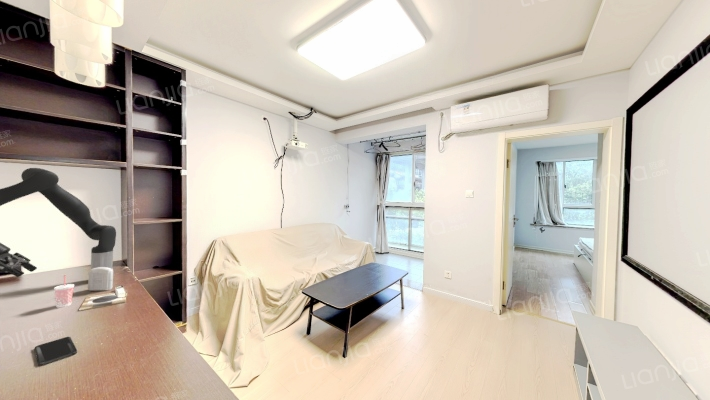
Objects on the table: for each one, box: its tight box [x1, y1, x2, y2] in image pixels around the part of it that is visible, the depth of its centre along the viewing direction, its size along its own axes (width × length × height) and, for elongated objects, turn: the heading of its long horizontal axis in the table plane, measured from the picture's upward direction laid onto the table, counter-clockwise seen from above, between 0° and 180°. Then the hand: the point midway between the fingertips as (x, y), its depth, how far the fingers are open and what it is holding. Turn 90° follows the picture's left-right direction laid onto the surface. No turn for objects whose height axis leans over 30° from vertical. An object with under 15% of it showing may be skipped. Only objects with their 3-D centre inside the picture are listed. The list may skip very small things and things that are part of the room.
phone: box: [34, 336, 78, 367], centre depth 80 cm, size 8×1×15 cm
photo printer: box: [87, 267, 114, 291], centre depth 132 cm, size 10×4×12 cm, turn 98°
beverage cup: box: [53, 275, 75, 308], centre depth 113 cm, size 6×6×14 cm
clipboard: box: [78, 290, 129, 312], centre depth 119 cm, size 18×15×1 cm
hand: (28, 272), depth 107 cm, fingers open, 8 cm apart
